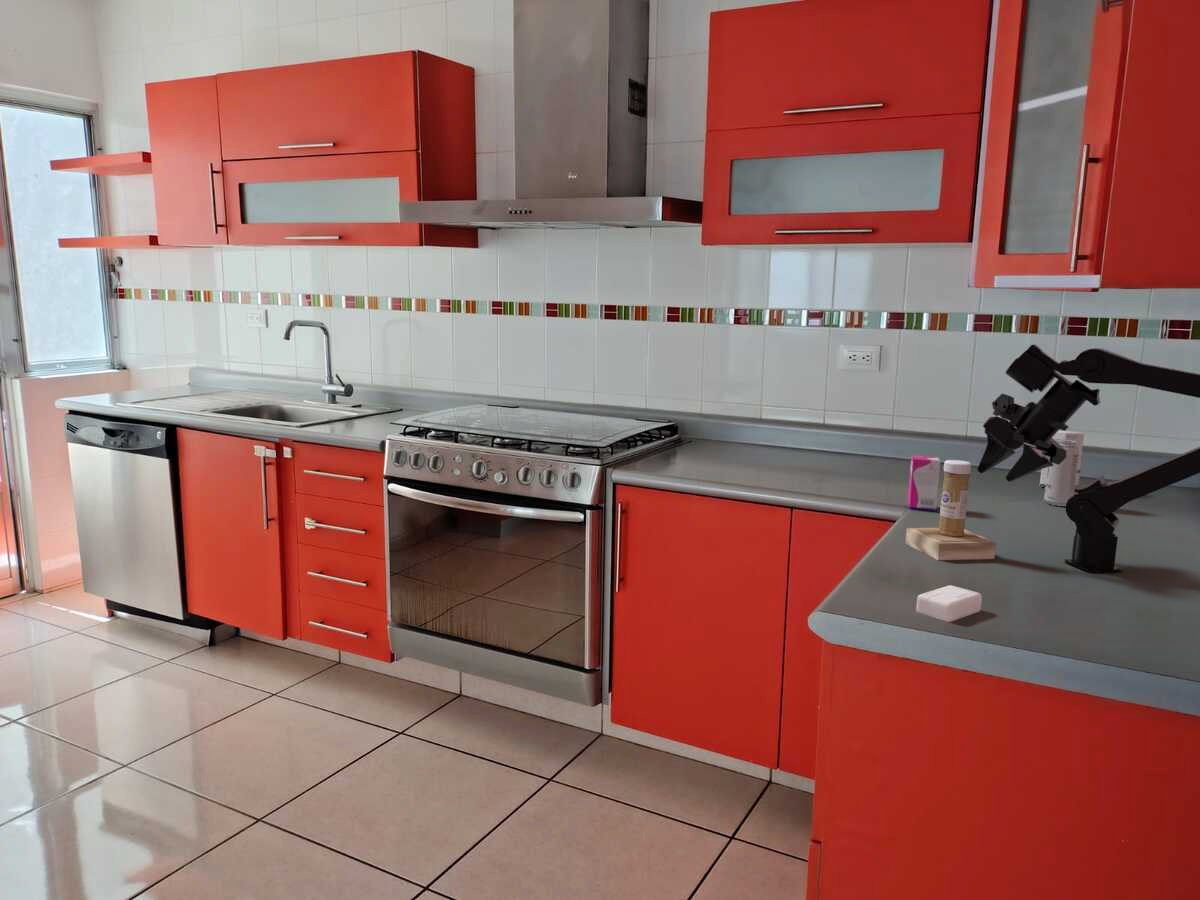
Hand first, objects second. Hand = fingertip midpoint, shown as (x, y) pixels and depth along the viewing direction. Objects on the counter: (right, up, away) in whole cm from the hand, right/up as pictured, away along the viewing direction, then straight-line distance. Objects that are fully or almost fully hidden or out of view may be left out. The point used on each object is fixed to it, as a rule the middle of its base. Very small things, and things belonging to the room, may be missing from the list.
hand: (993, 476), depth 162 cm
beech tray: (-8, -14, 0) cm, 16 cm away
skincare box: (+46, -5, +66) cm, 80 cm away
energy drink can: (+35, -8, +46) cm, 58 cm away
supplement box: (0, -8, +37) cm, 38 cm away
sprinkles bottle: (-8, -11, 0) cm, 13 cm away
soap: (-21, -19, -33) cm, 44 cm away
